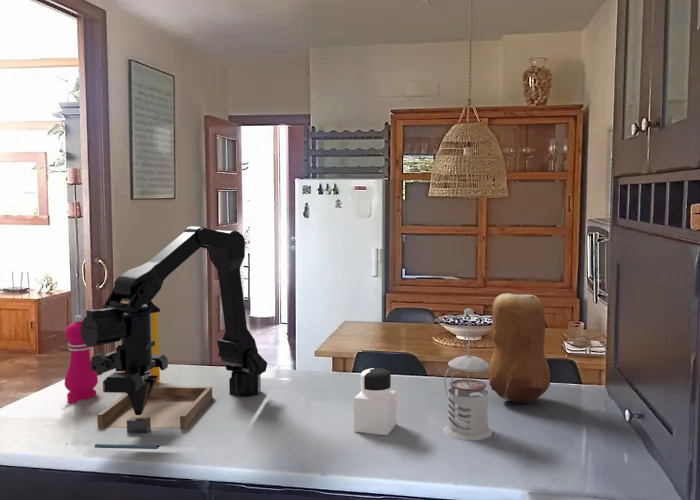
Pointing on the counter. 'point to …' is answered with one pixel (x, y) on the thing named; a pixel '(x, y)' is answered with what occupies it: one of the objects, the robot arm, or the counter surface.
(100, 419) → the walnut box
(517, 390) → the butternut squash
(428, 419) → the counter surface
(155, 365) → the robot arm
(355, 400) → the medicine bottle
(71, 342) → the pepper mill
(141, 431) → the cover plate
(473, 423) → the french press
